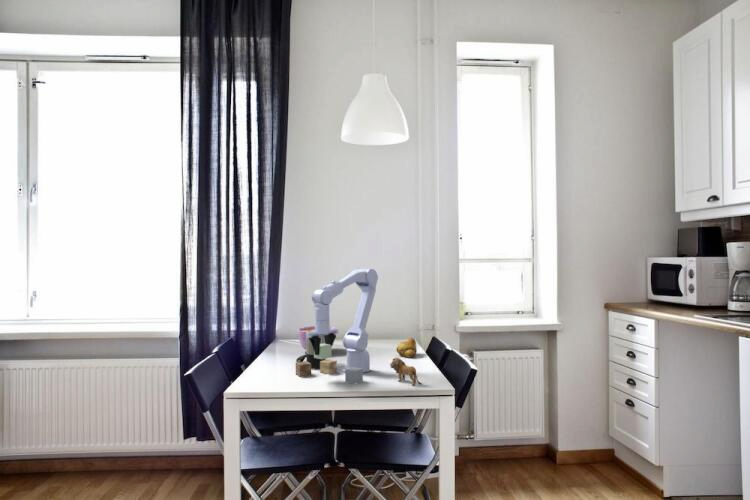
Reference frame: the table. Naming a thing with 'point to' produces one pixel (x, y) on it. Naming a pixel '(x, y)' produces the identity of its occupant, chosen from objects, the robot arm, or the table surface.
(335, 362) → the oak block
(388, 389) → the table surface
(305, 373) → the walnut block
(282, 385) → the table surface
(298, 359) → the milk frother
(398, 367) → the lion figurine
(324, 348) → the sage painted block
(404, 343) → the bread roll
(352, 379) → the slate grey block
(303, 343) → the bowl of food
